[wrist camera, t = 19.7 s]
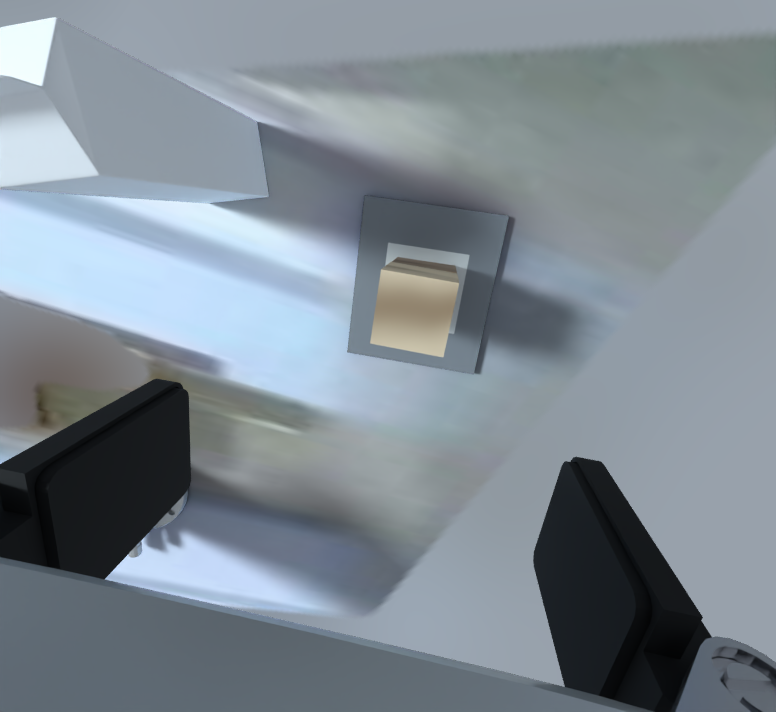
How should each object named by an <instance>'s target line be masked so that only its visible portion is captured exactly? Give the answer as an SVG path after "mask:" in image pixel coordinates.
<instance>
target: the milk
mask: <svg viewBox="0 0 776 712" xmlns="http://www.w3.org/2000/svg"><path fill="white" fill-rule="evenodd" d="M0 190H13V191H29V192H44V193H59V194H74V195H89V196H104V197H119V198H134V199H149V200H165V201H180V202H195V203H215V202H225V201H235V200H245V199H254V198H264V197H269V193H268V186H267V180H266V174H265V168H264V161H263V155H262V149H261V143H260V136H259V130H258V124H257V121H255V120H254V119H252V118H250V117H248V116H246V115H244V114H242V113H240V112H238V111H236V110H234V109H232V108H231V107H229V106H227V105H225V104H223V103H221V102H219V101H217V100H215V99H213V98H211V97H209V96H207V95H206V94H204V93H202V92H200V91H198V90H196V89H194V88H192V87H190V86H188V85H186V84H184V83H183V82H181V81H179V80H177V79H175V78H173V77H171V76H169V75H167V74H165V73H163V72H161V71H159V70H157V69H156V68H154V67H152V66H150V65H148V64H146V63H144V62H142V61H140V60H138V59H136V58H135V57H133V56H131V55H129V54H127V53H125V52H123V51H121V50H119V49H117V48H115V47H113V46H111V45H110V44H108V43H106V42H104V41H102V40H100V39H98V38H96V37H94V36H92V35H90V34H88V33H86V32H84V31H83V30H81V29H79V28H77V27H75V26H73V25H71V24H69V23H67V22H65V21H63V20H61V19H59V18H57V17H54V18H48V19H43V20H37V21H32V22H26V23H21V24H16V25H10V26H5V27H0Z"/></svg>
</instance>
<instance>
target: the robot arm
mask: <svg viewBox="0 0 776 712" xmlns="http://www.w3.org/2000/svg"><path fill="white" fill-rule="evenodd" d="M190 482H191V466H190V429H189V396H188V392H187V391H186V390H184V389H183V386H182V385H181V384H180V383H177V382H172V381H166V380H161V379H154V380H152V381H150V382H148V383H147V384H145V385H143V386H141V387H139V388H138V389H136V390H134V391H132V392H130V393H128V394H127V395H125V396H123V397H121V398H119V399H118V400H116V401H114V402H112V403H110V404H109V405H107V406H105V407H103V408H101V409H99V410H98V411H96V412H94V413H92V414H90V415H89V416H87V417H85V418H83V419H81V420H80V421H78V422H76V423H74V424H72V425H70V426H69V427H67V428H65V429H63V430H61V431H60V432H58V433H56V434H54V435H52V436H51V437H49V438H47V439H45V440H43V441H41V442H40V443H38V444H36V445H34V446H32V447H31V448H29V449H27V450H25V451H23V452H21V453H20V454H18V455H16V456H14V457H12V458H11V459H9V460H7V461H5V462H3V463H2V464H0V712H776V662H774V661H773V660H772V659H770V658H769V657H767V656H766V655H764V654H763V653H761V652H759V651H757V650H756V649H754V648H752V647H750V646H748V645H746V644H744V643H741V642H738V641H736V640H733V639H730V638H723V637H711V635H710V634H709V632H708V631H707V629H706V627H705V626H704V624H703V623H702V621H701V620H702V618H703V617H702V615H701V614H700V612H699V611H698V609H697V608H696V606H695V605H694V603H693V602H692V600H691V598H690V597H689V596H688V594H687V593H686V591H685V589H684V588H683V586H682V585H681V583H680V581H679V580H678V578H677V577H676V575H675V574H674V572H673V571H672V569H671V568H670V566H669V564H668V563H667V561H666V560H665V558H664V557H663V555H662V554H661V552H660V551H659V549H658V548H657V546H656V544H655V543H654V542H653V540H652V538H651V537H650V535H649V534H648V532H647V531H646V529H645V527H644V526H643V525H642V523H641V521H640V520H639V518H638V517H637V515H636V514H635V512H634V510H633V509H632V507H631V506H630V504H629V503H628V501H627V500H626V498H625V497H624V495H623V494H622V492H621V491H620V489H619V487H618V486H617V484H616V483H615V481H614V480H613V478H612V477H611V475H610V473H609V472H608V470H607V469H606V467H605V466H604V464H603V463H602V462H600V461H595V460H590V459H584V458H579V457H574V458H573V459H572V460H571V462H567V461H566V462H564V463H563V465H562V467H561V470H560V473H559V476H558V480H557V483H556V486H555V489H554V492H553V495H552V498H551V501H550V504H549V507H548V510H547V513H546V517H545V519H544V522H543V526H542V529H541V532H540V535H539V538H538V541H537V544H536V547H535V550H534V560H533V561H534V568H535V572H536V576H537V580H538V584H539V588H540V592H541V596H542V599H543V604H544V607H545V611H546V615H547V619H548V623H549V627H550V630H551V635H552V639H553V642H554V646H555V650H556V654H557V658H558V662H559V666H560V670H561V674H562V678H563V681H564V685H565V687H562V686H558V685H554V684H550V683H546V682H542V681H538V680H534V679H530V678H526V677H522V676H519V675H515V674H511V673H506V672H503V671H498V670H494V669H490V668H486V667H482V666H477V665H473V664H469V663H464V662H460V661H456V660H452V659H447V658H444V657H439V656H435V655H430V654H427V653H422V652H418V651H414V650H410V649H405V648H401V647H397V646H393V645H389V644H384V643H380V642H376V641H372V640H367V639H363V638H359V637H355V636H350V635H346V634H342V633H337V632H333V631H329V630H324V629H320V628H316V627H311V626H307V625H303V624H298V623H294V622H290V621H285V620H281V619H277V618H272V617H268V616H263V615H259V614H255V613H251V612H246V611H242V610H237V609H233V608H229V607H224V606H220V605H216V604H211V603H207V602H202V601H198V600H194V599H189V598H185V597H180V596H176V595H171V594H167V593H162V592H158V591H153V590H149V589H145V588H140V587H136V586H131V585H127V584H122V583H118V582H113V581H109V580H104V579H105V578H106V577H107V576H108V575H109V574H110V573H111V572H112V571H113V570H114V569H115V568H116V566H117V565H118V564H119V563H120V562H121V561H122V560H123V559H124V558H125V557H126V556H127V555H128V554H129V556H130V557H137V556H139V555H140V554H141V553H142V543H141V540H142V539H143V538H144V537H145V536H146V535H147V534H148V533H149V532H150V530H151V529H155V528H159V527H163V526H165V525H167V524H169V523H170V522H172V521H173V520H174V519H175V518H176V517H177V516H178V515H179V513H180V512H181V511H182V510H183V508H184V506H185V504H186V501H187V496H188V488H189V485H190Z"/></svg>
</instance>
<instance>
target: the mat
mask: <svg viewBox="0 0 776 712" xmlns="http://www.w3.org/2000/svg"><path fill="white" fill-rule="evenodd" d="M508 218H509V216H506V215H500V214H493V213H486V212H479V211H472V210H465V209H458V208H451V207H444V206H437V205H430V204H423V203H416V202H409V201H402V200H395V199H388V198H381V197H374V196H367V195H365V196H364V205H363V214H362V223H361V232H360V241H359V250H358V260H357V269H356V278H355V287H354V296H353V305H352V314H351V323H350V332H349V341H348V350H347V352H348V353H354V354H360V355H365V356H371V357H377V358H383V359H388V360H394V361H400V362H406V363H411V364H417V365H423V366H429V367H434V368H440V369H446V370H451V371H457V372H463V373H469V374H474V371H475V367H476V362H477V358H478V353H479V349H480V344H481V340H482V335H483V331H484V326H485V322H486V317H487V313H488V308H489V304H490V299H491V295H492V290H493V286H494V281H495V277H496V272H497V268H498V263H499V259H500V254H501V250H502V245H503V241H504V236H505V232H506V227H507V223H508ZM397 257H402V258H408V259H415V260H422V261H428V262H435V263H442V264H448V265H455V266H456V270H457V275H458V279H459V287H458V292H457V296H456V301H455V306H454V310H453V315H452V320H451V324H450V329H449V334H448V338H447V343H446V348H445V352H444V357H438V356H433V355H428V354H423V353H417V352H412V351H407V350H402V349H396V348H391V347H386V346H381V345H375V344H370V341H371V334H372V327H373V321H374V314H375V307H376V300H377V294H378V287H379V280H380V274H381V269H382V268H383V267H385V266H386V265H387V264H389V263H390V262H392V261H393V260H395V259H396V258H397Z"/></svg>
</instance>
